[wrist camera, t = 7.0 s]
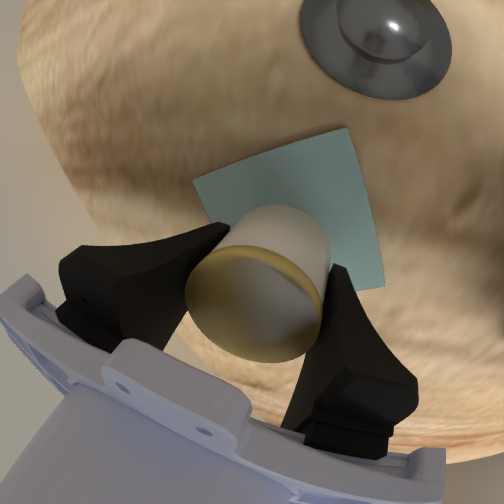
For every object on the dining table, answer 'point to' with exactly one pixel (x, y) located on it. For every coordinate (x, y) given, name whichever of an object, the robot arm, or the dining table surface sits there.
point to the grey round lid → (379, 44)
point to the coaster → (305, 197)
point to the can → (263, 286)
